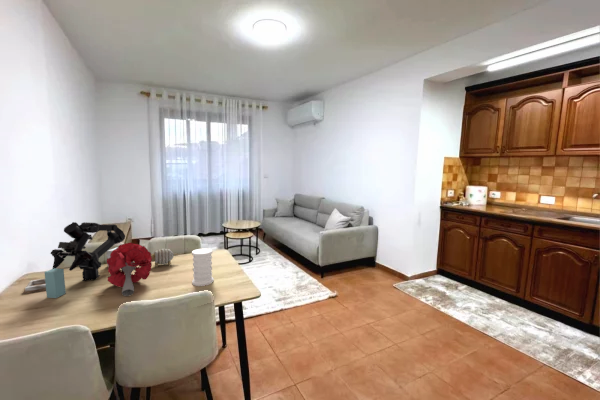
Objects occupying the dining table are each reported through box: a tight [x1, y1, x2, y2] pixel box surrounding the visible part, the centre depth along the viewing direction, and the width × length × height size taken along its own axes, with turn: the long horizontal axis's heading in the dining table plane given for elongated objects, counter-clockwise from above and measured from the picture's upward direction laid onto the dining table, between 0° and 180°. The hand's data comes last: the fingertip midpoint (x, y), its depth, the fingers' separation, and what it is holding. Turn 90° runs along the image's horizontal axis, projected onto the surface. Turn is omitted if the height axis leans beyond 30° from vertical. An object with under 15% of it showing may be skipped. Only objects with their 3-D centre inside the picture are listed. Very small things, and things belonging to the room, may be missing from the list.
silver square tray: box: [22, 278, 46, 295], centre depth 147 cm, size 12×12×3 cm
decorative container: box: [191, 247, 215, 287], centre depth 157 cm, size 12×12×18 cm
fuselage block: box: [44, 267, 66, 299], centre depth 138 cm, size 5×5×13 cm
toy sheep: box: [151, 248, 179, 268], centre depth 182 cm, size 11×17×11 cm, turn 127°
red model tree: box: [106, 242, 153, 297], centre depth 148 cm, size 22×24×30 cm
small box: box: [106, 246, 118, 267], centre depth 181 cm, size 8×6×10 cm
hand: (61, 269), depth 141 cm, fingers open, 9 cm apart
